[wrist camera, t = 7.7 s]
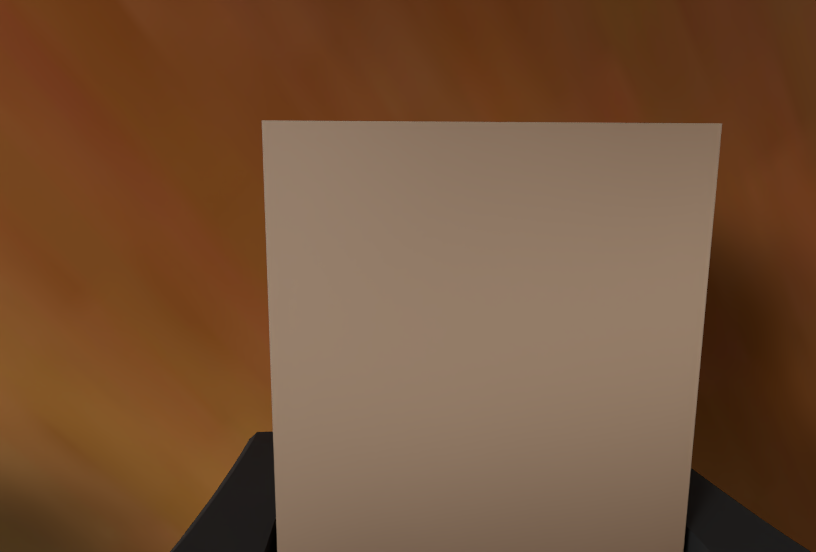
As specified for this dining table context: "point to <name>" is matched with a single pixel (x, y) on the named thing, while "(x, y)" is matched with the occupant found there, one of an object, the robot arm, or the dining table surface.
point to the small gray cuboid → (485, 332)
